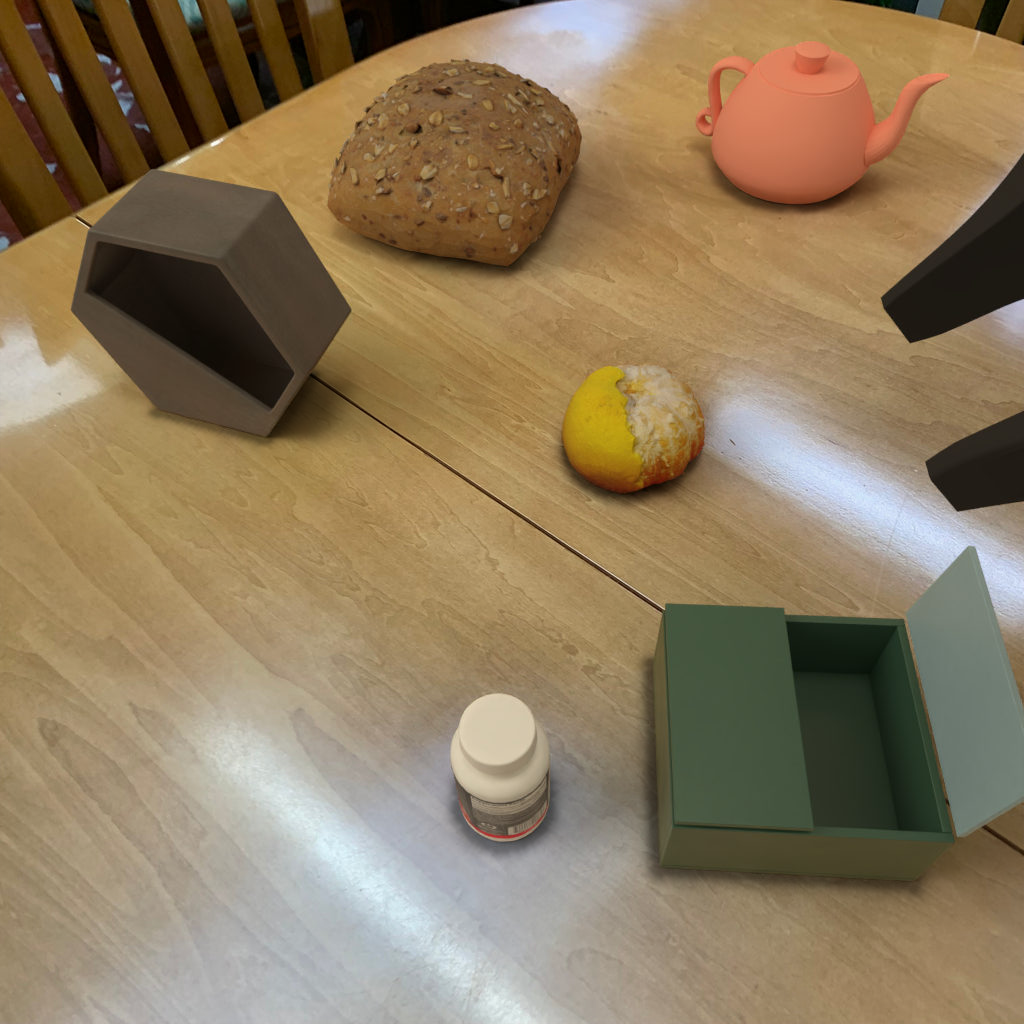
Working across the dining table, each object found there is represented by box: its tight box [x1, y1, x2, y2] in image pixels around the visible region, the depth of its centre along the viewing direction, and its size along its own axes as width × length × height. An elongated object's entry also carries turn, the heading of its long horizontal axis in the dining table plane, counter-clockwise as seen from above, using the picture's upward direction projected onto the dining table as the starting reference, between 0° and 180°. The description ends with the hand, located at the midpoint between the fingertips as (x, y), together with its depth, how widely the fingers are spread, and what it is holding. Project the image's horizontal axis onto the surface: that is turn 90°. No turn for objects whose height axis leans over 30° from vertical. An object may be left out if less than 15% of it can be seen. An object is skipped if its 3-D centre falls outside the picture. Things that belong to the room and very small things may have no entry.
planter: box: [70, 168, 352, 438], centre depth 69 cm, size 17×8×21 cm
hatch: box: [905, 545, 1024, 838], centre depth 47 cm, size 7×13×1 cm
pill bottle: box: [449, 692, 551, 843], centre depth 51 cm, size 5×5×10 cm
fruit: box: [561, 362, 706, 495], centre depth 69 cm, size 11×10×8 cm
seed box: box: [652, 602, 956, 882], centre depth 53 cm, size 14×13×7 cm
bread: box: [326, 58, 583, 267], centre depth 88 cm, size 24×21×12 cm
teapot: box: [694, 40, 950, 205], centre depth 89 cm, size 22×16×12 cm
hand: (916, 397), depth 30 cm, fingers open, 7 cm apart
